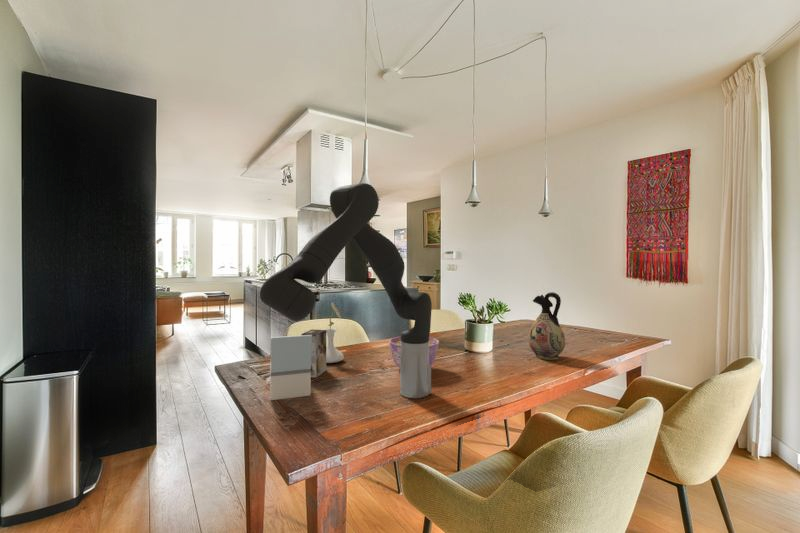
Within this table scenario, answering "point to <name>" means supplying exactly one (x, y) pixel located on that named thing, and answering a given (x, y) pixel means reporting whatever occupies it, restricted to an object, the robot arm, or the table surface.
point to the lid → (291, 353)
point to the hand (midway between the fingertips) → (293, 296)
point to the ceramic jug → (547, 330)
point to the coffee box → (317, 351)
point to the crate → (290, 383)
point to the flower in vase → (331, 351)
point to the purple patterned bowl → (396, 349)
